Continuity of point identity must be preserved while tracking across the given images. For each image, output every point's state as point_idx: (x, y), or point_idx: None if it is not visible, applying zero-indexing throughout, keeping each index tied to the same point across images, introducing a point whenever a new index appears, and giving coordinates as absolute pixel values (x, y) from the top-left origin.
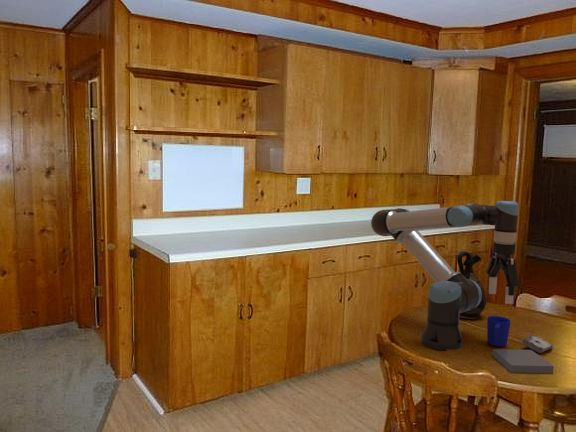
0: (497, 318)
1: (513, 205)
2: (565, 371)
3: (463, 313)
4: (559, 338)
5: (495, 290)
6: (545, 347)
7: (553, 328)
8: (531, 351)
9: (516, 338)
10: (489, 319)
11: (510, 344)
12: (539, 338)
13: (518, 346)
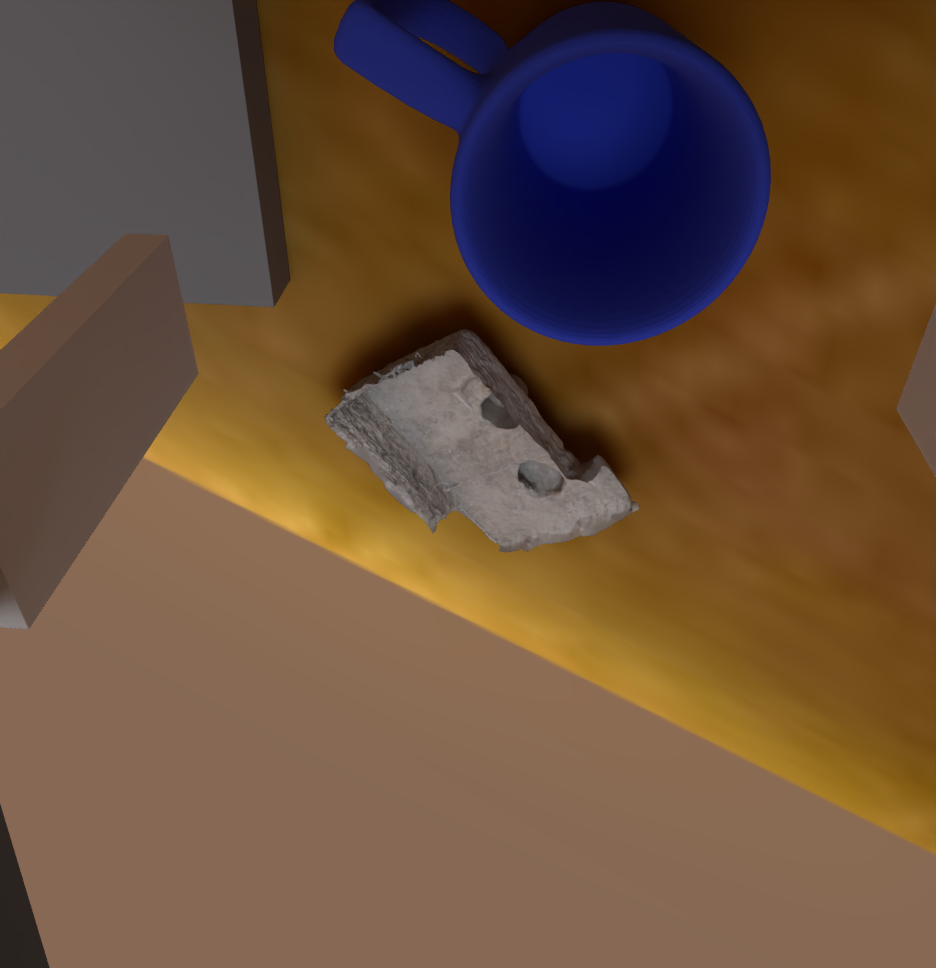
0: (722, 239)
1: None
2: None
3: None
4: (683, 666)
5: (927, 439)
6: (473, 484)
7: (881, 733)
8: (233, 286)
9: (730, 388)
10: (597, 38)
11: None
12: (595, 523)
13: None
